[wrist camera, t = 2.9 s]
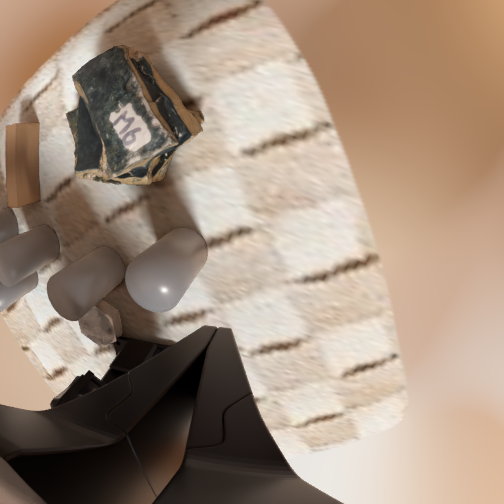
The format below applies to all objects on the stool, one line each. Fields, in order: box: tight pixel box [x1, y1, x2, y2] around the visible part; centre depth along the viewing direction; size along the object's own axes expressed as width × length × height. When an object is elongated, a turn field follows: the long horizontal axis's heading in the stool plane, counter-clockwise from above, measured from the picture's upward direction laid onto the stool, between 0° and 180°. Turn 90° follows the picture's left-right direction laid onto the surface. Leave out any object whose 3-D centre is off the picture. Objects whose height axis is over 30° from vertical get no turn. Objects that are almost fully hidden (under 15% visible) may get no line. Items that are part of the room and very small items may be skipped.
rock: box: [66, 45, 204, 186], centre depth 17 cm, size 9×9×6 cm
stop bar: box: [6, 123, 40, 208], centre depth 20 cm, size 7×2×3 cm, turn 177°
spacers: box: [0, 208, 208, 321], centre depth 20 cm, size 8×24×6 cm, turn 87°
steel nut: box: [78, 299, 123, 347], centre depth 25 cm, size 4×5×2 cm
